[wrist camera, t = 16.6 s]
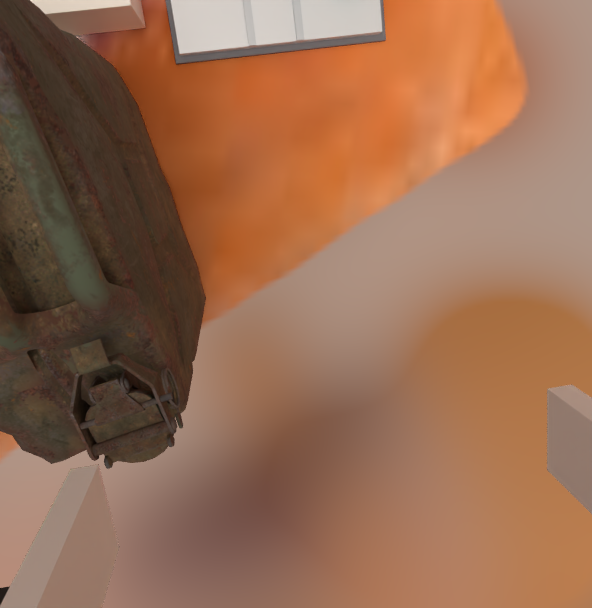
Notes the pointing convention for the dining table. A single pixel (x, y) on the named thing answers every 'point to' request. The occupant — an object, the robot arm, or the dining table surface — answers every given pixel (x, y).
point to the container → (86, 257)
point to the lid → (269, 22)
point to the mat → (270, 48)
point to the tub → (93, 15)
